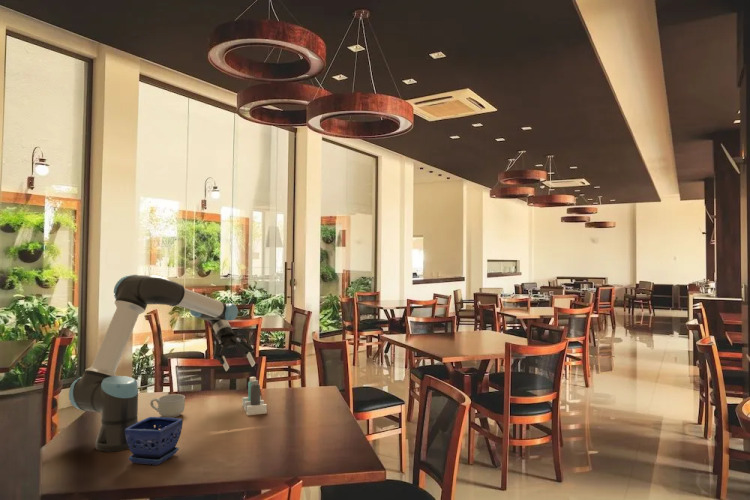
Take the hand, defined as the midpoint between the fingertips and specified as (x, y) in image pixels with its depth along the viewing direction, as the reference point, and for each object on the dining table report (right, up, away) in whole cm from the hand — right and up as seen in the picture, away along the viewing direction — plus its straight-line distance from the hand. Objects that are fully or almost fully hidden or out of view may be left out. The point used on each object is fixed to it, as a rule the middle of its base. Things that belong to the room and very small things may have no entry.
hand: (240, 367), depth 237 cm
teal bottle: (+7, -16, -7) cm, 19 cm away
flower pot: (-12, -16, -66) cm, 69 cm away
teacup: (-27, -17, -17) cm, 36 cm away
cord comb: (+9, -17, -11) cm, 22 cm away
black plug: (+10, -16, -14) cm, 23 cm away
